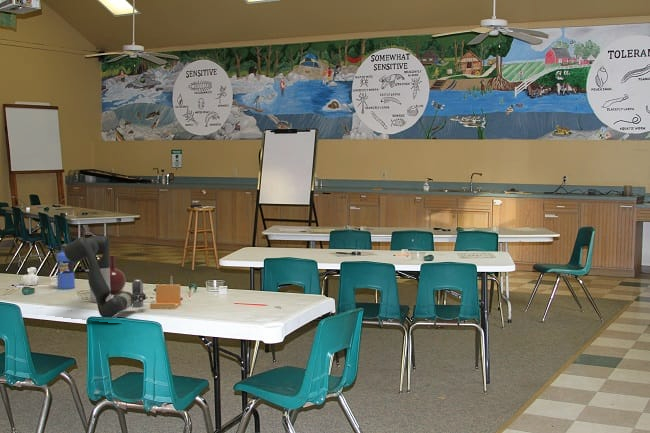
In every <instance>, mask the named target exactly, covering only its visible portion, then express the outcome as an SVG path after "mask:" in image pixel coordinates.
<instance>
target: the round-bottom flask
mask: <svg viewBox="0 0 650 433" xmlns="http://www.w3.org/2000/svg"><path fill="white" fill-rule="evenodd" d="M126 282H127V281H126V276H125V274H124V272H123V271H121V270H120V269H118V268H116V255H110V289H111V294H118V293H120V292H121V291H122V290H123V289H124V288H125V286H126Z"/></svg>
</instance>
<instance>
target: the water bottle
mask: <svg viewBox="0 0 650 433" xmlns="http://www.w3.org/2000/svg"><path fill="white" fill-rule="evenodd" d="M67 245H68V244H67V243H62V244H61V248H60V252H59V253H57V254H56V255H55V256H56V257H55V258H56V264H57V273H56V274H57V275H56V276H57V290H61V291H62V290H63V291H65V290H66V291H68V290H73V289H75V288H76V287H75V286H76V284H75V283H76V282H75V269H74V265H75V263H73V262H71V261H69V260H68V259H67V258H66V256H65V254H64V248H65V247H66V246H67Z"/></svg>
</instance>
